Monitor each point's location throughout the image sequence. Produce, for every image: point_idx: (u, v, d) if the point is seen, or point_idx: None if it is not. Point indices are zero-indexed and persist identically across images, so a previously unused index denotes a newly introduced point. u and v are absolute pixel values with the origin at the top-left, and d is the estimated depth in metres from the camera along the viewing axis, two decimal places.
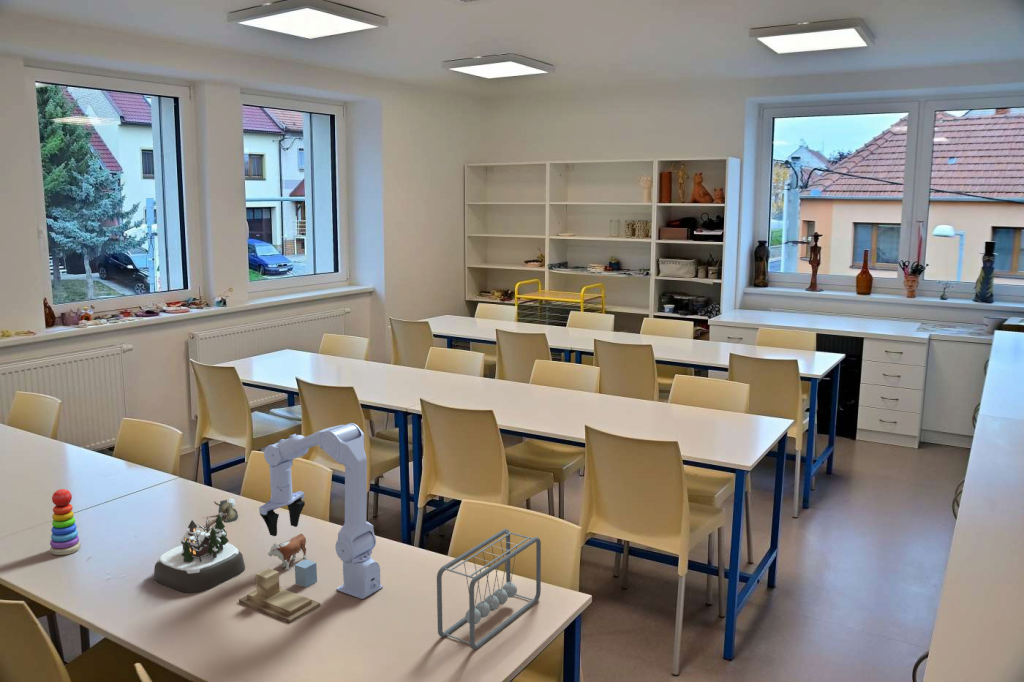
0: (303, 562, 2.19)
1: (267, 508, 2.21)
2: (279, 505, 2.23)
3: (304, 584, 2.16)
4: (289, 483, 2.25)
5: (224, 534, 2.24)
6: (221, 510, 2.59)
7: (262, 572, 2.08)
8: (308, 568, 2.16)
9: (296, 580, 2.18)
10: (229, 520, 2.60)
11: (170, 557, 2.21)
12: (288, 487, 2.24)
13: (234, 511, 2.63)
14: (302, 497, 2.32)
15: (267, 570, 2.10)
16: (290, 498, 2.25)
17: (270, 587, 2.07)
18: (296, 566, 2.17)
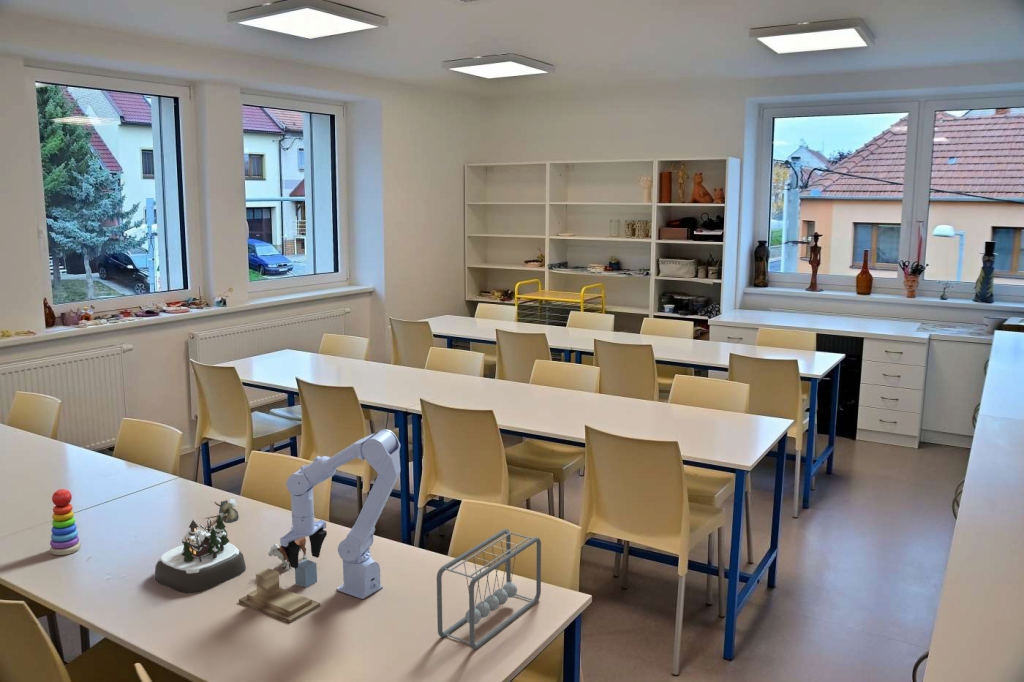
0: (303, 562, 2.19)
1: (288, 539, 2.11)
2: (301, 536, 2.13)
3: (304, 584, 2.16)
4: (313, 511, 2.15)
5: (225, 534, 2.23)
6: (222, 510, 2.59)
7: (262, 572, 2.08)
8: (308, 568, 2.16)
9: (296, 580, 2.18)
10: (230, 520, 2.60)
11: (171, 556, 2.21)
12: (310, 517, 2.14)
13: (235, 511, 2.63)
14: (324, 526, 2.21)
15: (267, 570, 2.10)
16: (312, 528, 2.15)
17: (270, 587, 2.07)
18: None
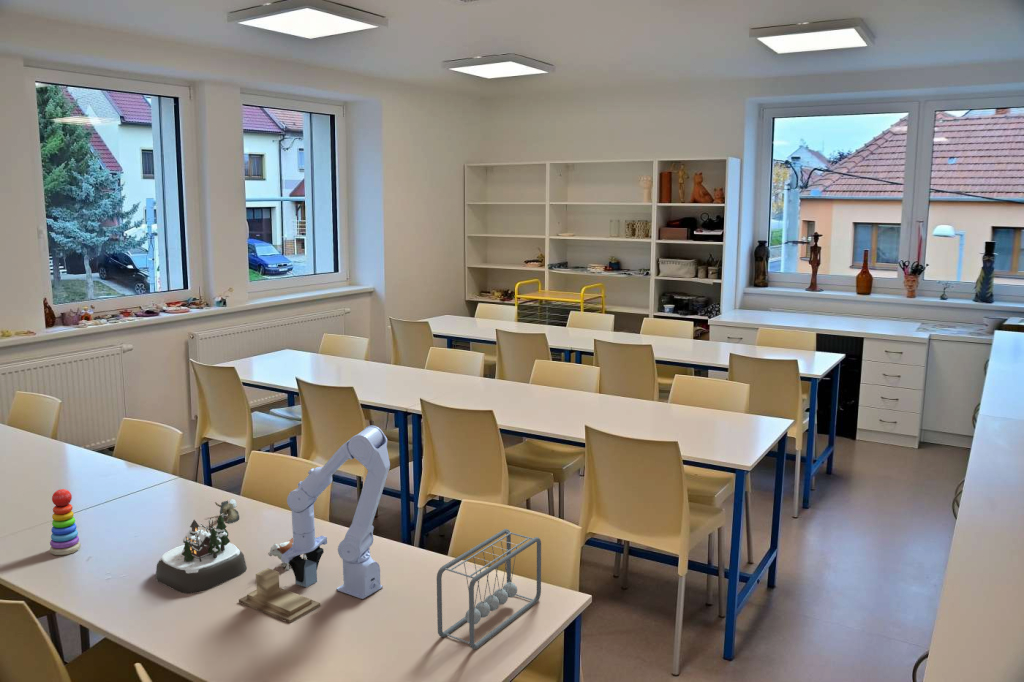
0: None
1: (289, 556, 2.11)
2: (302, 552, 2.13)
3: (304, 584, 2.16)
4: (314, 528, 2.16)
5: (225, 534, 2.23)
6: (222, 511, 2.59)
7: (262, 572, 2.08)
8: (308, 568, 2.16)
9: None
10: (230, 521, 2.59)
11: (172, 556, 2.21)
12: (311, 533, 2.15)
13: (235, 512, 2.63)
14: (325, 542, 2.22)
15: (267, 570, 2.10)
16: (313, 544, 2.16)
17: (270, 587, 2.07)
18: None
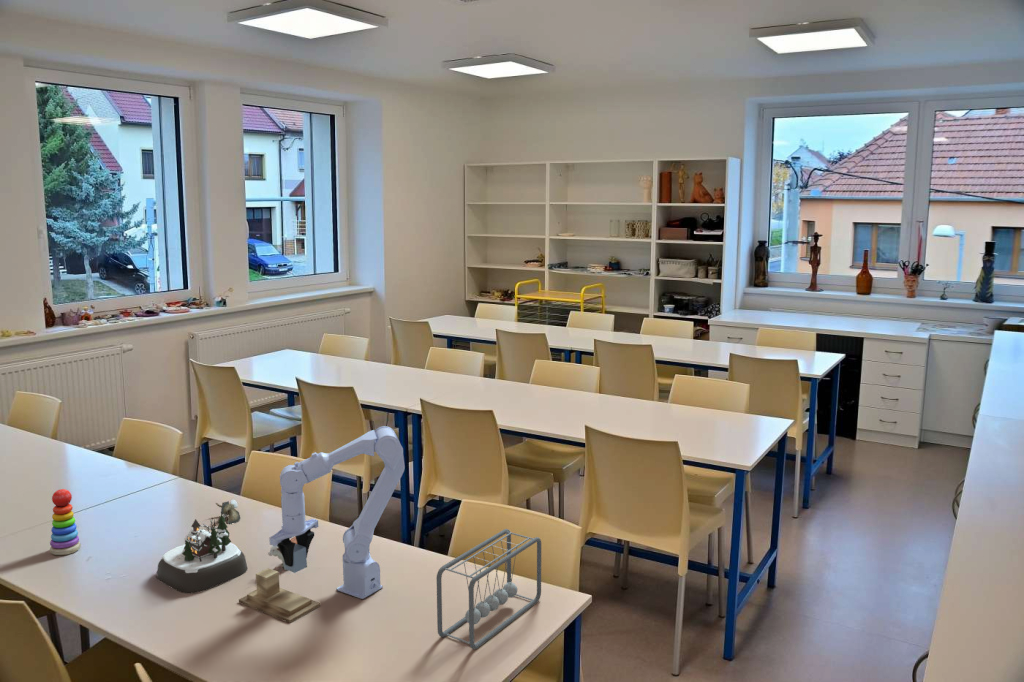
0: None
1: (278, 539, 2.03)
2: (291, 535, 2.05)
3: (293, 569, 2.08)
4: None
5: (226, 535, 2.23)
6: (223, 512, 2.58)
7: (262, 572, 2.08)
8: (297, 553, 2.08)
9: (285, 565, 2.09)
10: (231, 522, 2.59)
11: (173, 555, 2.22)
12: (301, 515, 2.06)
13: (236, 512, 2.62)
14: (316, 525, 2.13)
15: (267, 570, 2.10)
16: (303, 527, 2.07)
17: (270, 587, 2.07)
18: None
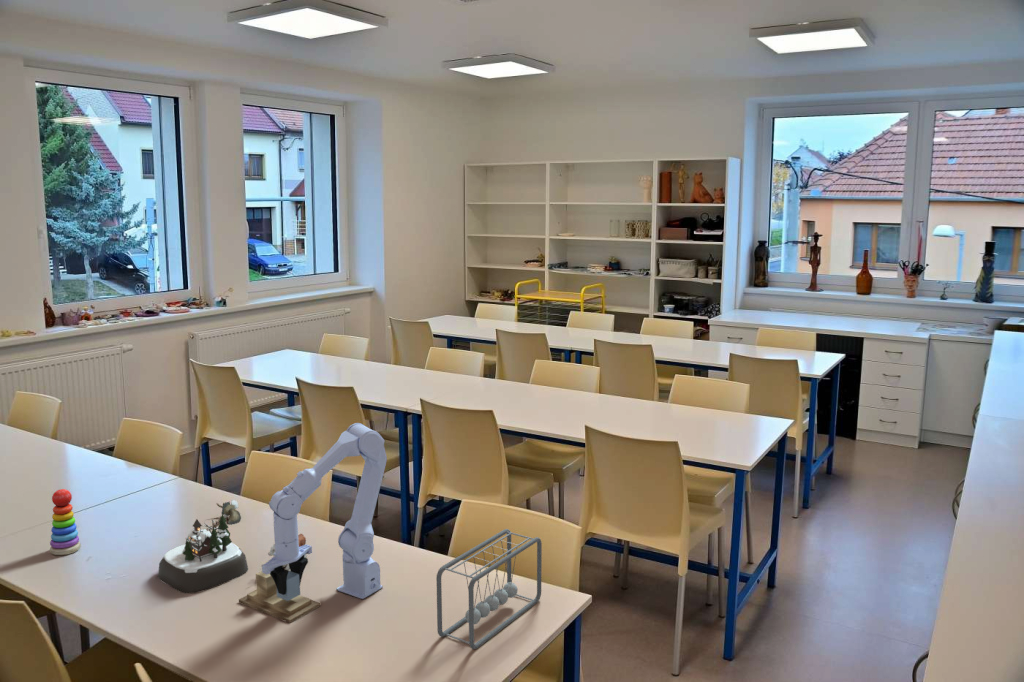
0: None
1: (271, 567, 1.97)
2: (284, 563, 1.99)
3: (286, 597, 2.02)
4: None
5: (226, 535, 2.23)
6: (224, 512, 2.58)
7: None
8: (291, 580, 2.02)
9: (277, 593, 2.04)
10: (232, 522, 2.58)
11: (174, 554, 2.22)
12: (294, 542, 2.00)
13: (237, 513, 2.62)
14: (309, 551, 2.08)
15: None
16: (296, 554, 2.02)
17: (270, 587, 2.07)
18: None
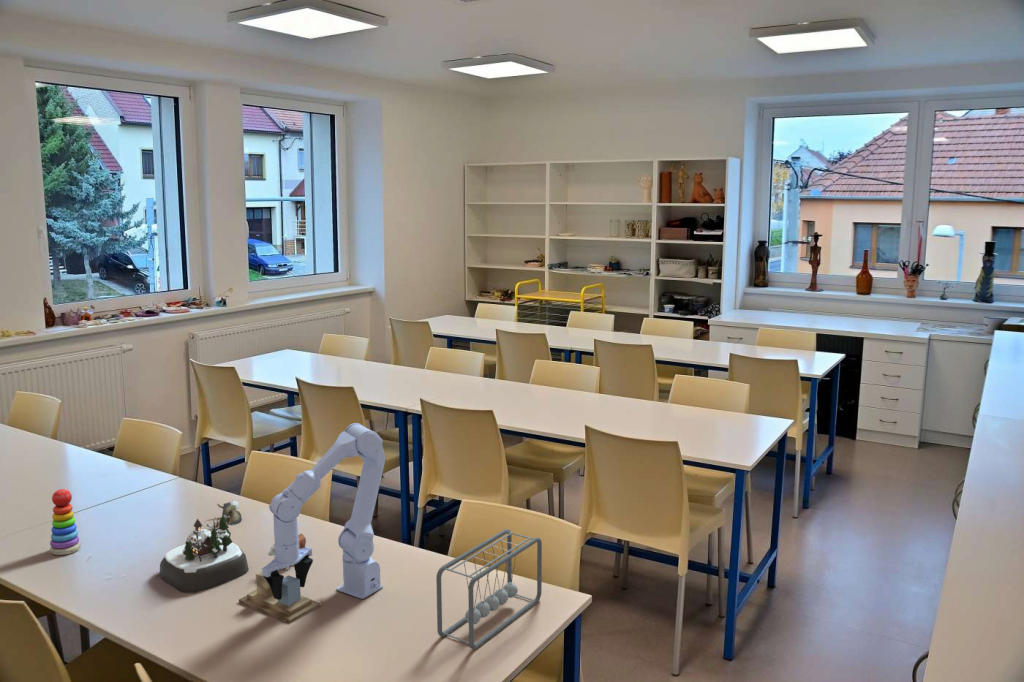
0: (286, 579, 2.05)
1: (271, 569, 1.97)
2: (284, 565, 1.99)
3: (287, 602, 2.02)
4: None
5: (227, 535, 2.23)
6: (225, 513, 2.57)
7: None
8: (291, 586, 2.03)
9: None
10: (233, 523, 2.58)
11: (175, 554, 2.23)
12: (294, 545, 2.01)
13: (238, 513, 2.61)
14: (310, 554, 2.08)
15: None
16: (296, 557, 2.02)
17: None
18: None
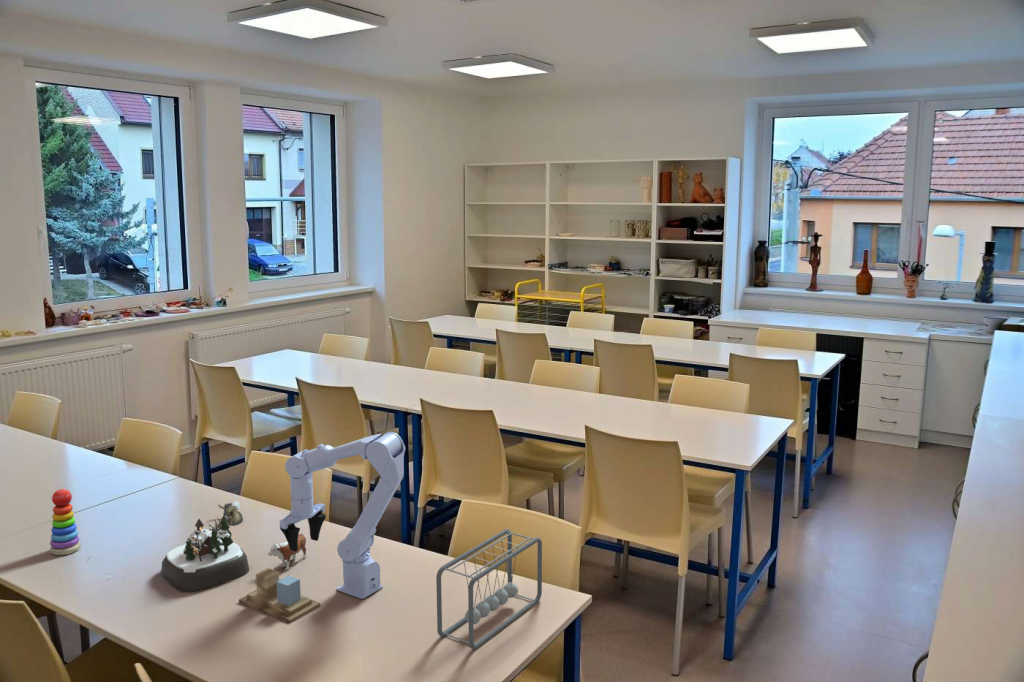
0: (286, 579, 2.05)
1: (288, 522, 2.11)
2: (300, 519, 2.13)
3: (287, 602, 2.02)
4: (312, 494, 2.15)
5: (227, 535, 2.23)
6: (226, 513, 2.57)
7: (262, 572, 2.08)
8: (291, 586, 2.03)
9: (278, 598, 2.04)
10: (234, 523, 2.58)
11: (176, 553, 2.23)
12: (309, 500, 2.14)
13: (239, 514, 2.61)
14: (323, 510, 2.21)
15: (267, 570, 2.10)
16: (311, 511, 2.15)
17: (270, 587, 2.07)
18: (278, 583, 2.03)
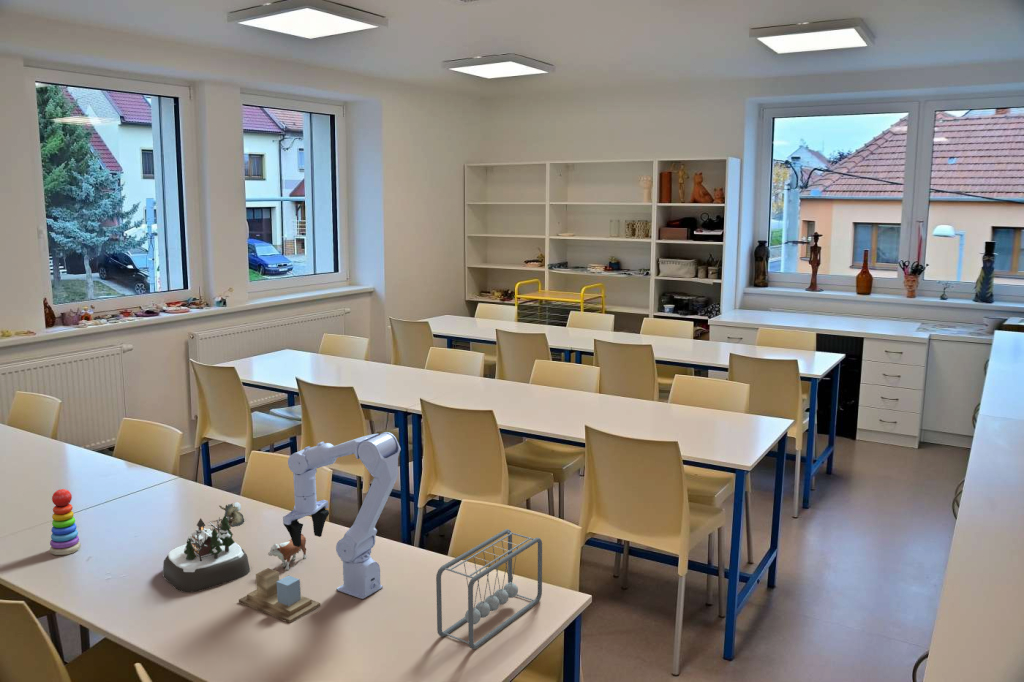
0: (286, 579, 2.05)
1: (291, 518, 2.13)
2: (303, 515, 2.15)
3: (287, 602, 2.02)
4: (314, 491, 2.17)
5: (228, 536, 2.22)
6: (227, 514, 2.56)
7: (262, 572, 2.08)
8: (291, 586, 2.03)
9: (278, 598, 2.04)
10: (235, 524, 2.57)
11: (178, 552, 2.23)
12: (312, 496, 2.17)
13: (240, 515, 2.60)
14: (326, 506, 2.24)
15: (267, 570, 2.10)
16: (314, 507, 2.18)
17: (270, 587, 2.07)
18: (278, 583, 2.03)
